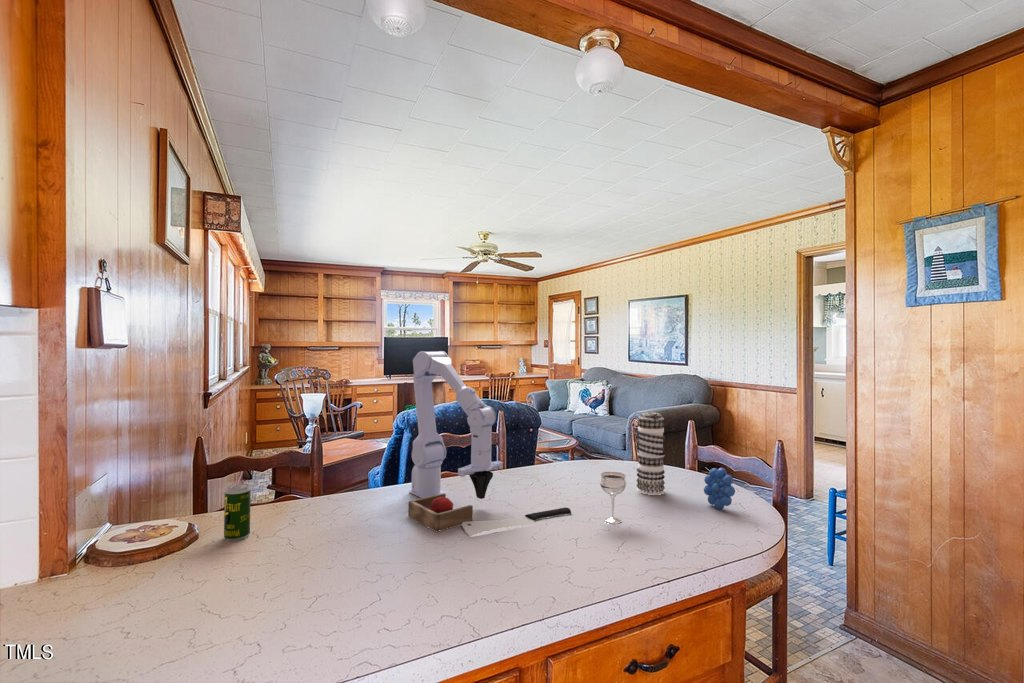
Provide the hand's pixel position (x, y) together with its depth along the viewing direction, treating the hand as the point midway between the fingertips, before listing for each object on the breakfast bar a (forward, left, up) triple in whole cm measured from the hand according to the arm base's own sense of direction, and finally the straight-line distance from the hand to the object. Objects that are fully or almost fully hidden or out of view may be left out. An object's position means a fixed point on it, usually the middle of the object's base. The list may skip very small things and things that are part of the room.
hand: (480, 497), depth 134 cm
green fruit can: (-20, -57, -3) cm, 60 cm away
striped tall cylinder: (+22, +51, -3) cm, 56 cm away
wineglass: (+30, +21, -3) cm, 37 cm away
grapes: (+44, +53, -3) cm, 69 cm away
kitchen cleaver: (+17, +1, -4) cm, 17 cm away
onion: (+1, -10, +1) cm, 10 cm away
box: (0, -13, -3) cm, 14 cm away
